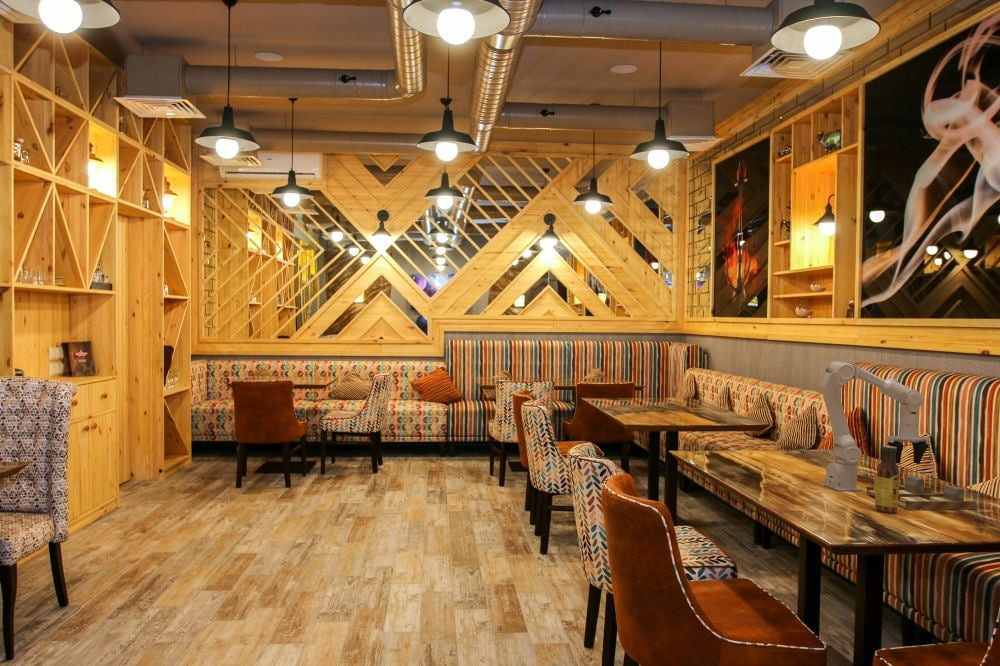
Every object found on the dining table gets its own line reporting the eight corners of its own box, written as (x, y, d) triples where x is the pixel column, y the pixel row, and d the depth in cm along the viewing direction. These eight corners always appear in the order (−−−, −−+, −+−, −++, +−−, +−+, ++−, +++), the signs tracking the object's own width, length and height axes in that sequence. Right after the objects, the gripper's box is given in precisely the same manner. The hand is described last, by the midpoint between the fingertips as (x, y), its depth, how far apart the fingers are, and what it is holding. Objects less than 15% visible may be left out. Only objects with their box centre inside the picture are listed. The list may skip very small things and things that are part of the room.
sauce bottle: (896, 515, 215) (900, 449, 215) (873, 511, 219) (877, 446, 218) (898, 510, 221) (901, 446, 220) (875, 506, 224) (878, 444, 224)
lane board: (907, 510, 222) (908, 491, 222) (866, 494, 240) (867, 477, 240) (975, 509, 226) (976, 491, 226) (929, 494, 245) (930, 477, 244)
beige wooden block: (882, 498, 232) (883, 480, 232) (867, 493, 239) (868, 475, 239) (925, 498, 235) (926, 480, 235) (909, 492, 242) (910, 475, 241)
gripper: (898, 425, 241) (896, 465, 242) (936, 426, 243) (934, 465, 244) (884, 422, 248) (881, 461, 249) (921, 423, 250) (919, 461, 251)
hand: (906, 463), depth 247 cm, fingers open, 7 cm apart
